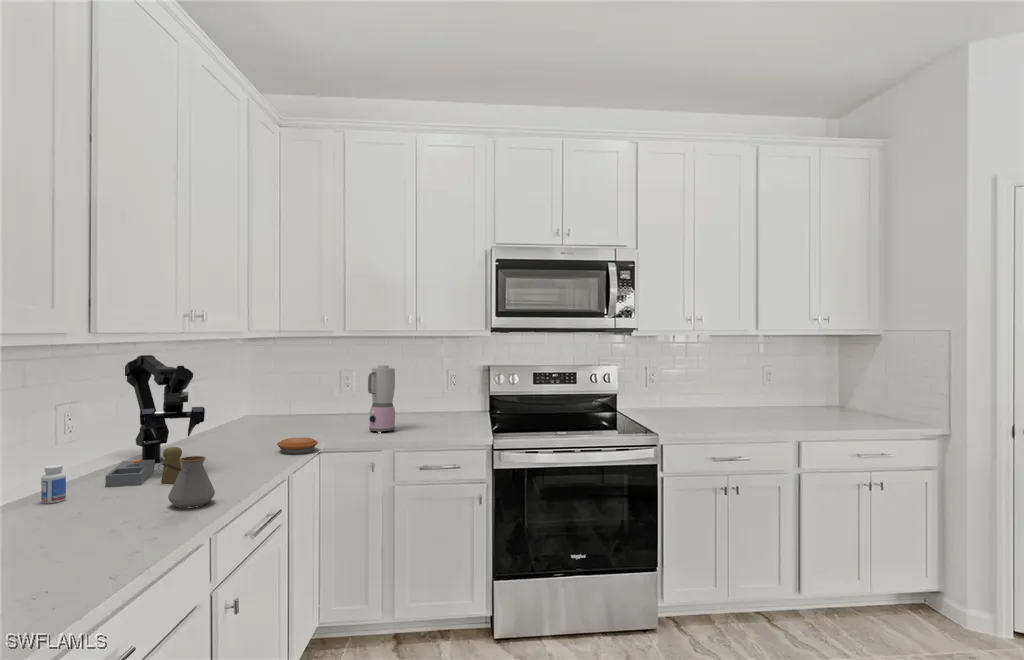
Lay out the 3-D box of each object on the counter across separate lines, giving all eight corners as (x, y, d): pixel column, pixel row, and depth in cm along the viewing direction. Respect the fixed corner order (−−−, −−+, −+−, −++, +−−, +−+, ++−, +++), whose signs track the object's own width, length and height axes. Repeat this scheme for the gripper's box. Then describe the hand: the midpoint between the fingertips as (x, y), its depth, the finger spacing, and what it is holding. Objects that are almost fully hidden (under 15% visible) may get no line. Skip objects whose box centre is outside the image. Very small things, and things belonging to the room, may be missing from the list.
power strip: (122, 471, 198) (122, 459, 198) (154, 469, 201) (154, 457, 201) (105, 487, 179) (105, 473, 179) (141, 484, 182) (141, 471, 182)
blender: (382, 428, 294) (384, 364, 294) (400, 431, 287) (401, 365, 287) (358, 432, 281) (359, 365, 281) (376, 435, 274) (377, 367, 274)
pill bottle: (68, 497, 167) (69, 463, 167) (61, 503, 162) (62, 467, 162) (45, 499, 165) (46, 464, 165) (37, 504, 160) (38, 468, 160)
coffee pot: (181, 498, 169) (182, 446, 169) (221, 498, 170) (223, 446, 170) (137, 522, 148) (138, 463, 148) (184, 523, 148) (185, 463, 148)
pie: (276, 456, 226) (277, 443, 226) (276, 448, 240) (277, 436, 240) (319, 454, 231) (319, 441, 231) (316, 446, 246) (316, 435, 246)
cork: (178, 478, 190) (178, 444, 190) (186, 482, 186) (186, 447, 186) (157, 482, 185) (158, 447, 185) (165, 485, 182) (166, 450, 182)
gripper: (140, 384, 192) (138, 423, 182) (205, 383, 201) (205, 420, 192) (141, 405, 199) (138, 444, 189) (203, 403, 208) (204, 439, 199)
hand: (172, 436), depth 192 cm, fingers open, 9 cm apart
